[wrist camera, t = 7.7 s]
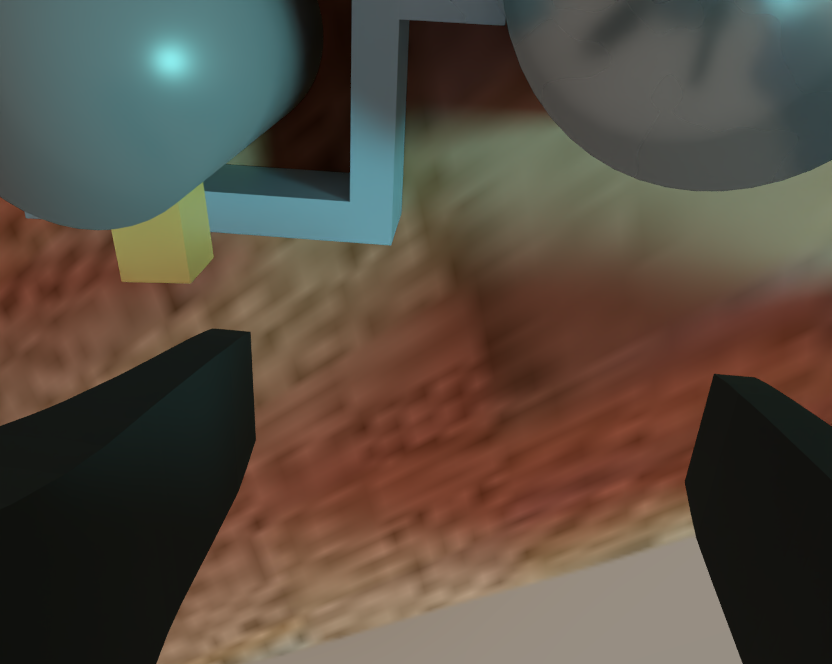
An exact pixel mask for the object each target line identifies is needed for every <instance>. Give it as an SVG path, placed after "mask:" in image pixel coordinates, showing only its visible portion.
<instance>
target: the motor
mask: <svg viewBox="0 0 832 664" xmlns="http://www.w3.org/2000/svg"><path fill="white" fill-rule="evenodd" d="M399 19H402V20H419V21H436V22H452V23H469V24H486V25H503V26H505V19H506V21H507V26H508V31H509V35H510V38H511V41H512V44H513V47H514V50H515V52H516V55H517V58H518V61H519V64H520V67H521V69H522V71H523V73H524V75H525V77H526V79H527V81H528V82H529V84H530V86H531V88H532V90H533V92H534V94H535V96H536V97H537V98H538V100H539V101H540V103H541V104H542V106H543V107H544V108H545V110H546V111H547V113H548V114H549V116H550V117H551V118H552V119H553V120H554V121H555V123H556V124H557V125H558V126H559V127H560V128H561V129H562V130H563V131H564V132H565V133H566V134H567V136H568V137H569V138H570V139H572V140H573V141H574V142H575V143H577V144H578V145H579V146H580V147H582V148H583V149H584V150H585V151H586V152H588V153H589V154H590V155H592V156H593V157H595V158H597V159H598V160H600V161H602V162H603V163H605V164H606V165H608V166H610V167H611V168H613V169H615V170H617V171H620V172H622V173H624V174H627V175H629V176H631V177H634V178H636V179H638V180H642V181H645V182H649V183H653V184H656V185H660V186H664V187H668V188H676V189H683V190H691V191H728V190H737V189H745V188H753V187H757V186H761V185H766V184H770V183H774V182H778V181H782V180H785V179H788V178H790V177H793V176H796V175H799V174H802V173H804V172H807V171H810V170H812V169H814V168H816V167H818V166H820V165H823V164H825V163H827V162H829V161H831V160H832V0H400V13H399Z"/></svg>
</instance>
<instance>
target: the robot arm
mask: <svg viewBox="0 0 832 664" xmlns="http://www.w3.org/2000/svg"><path fill="white" fill-rule="evenodd" d="M255 441H256V433H255V413H254V393H253V373H252V353H251V333H250V332H246V331H235V330H224V329H210V330H208V331H205V332H203V333H200V334H198V335H196V336H194V337H192V338H190V339H188V340H186V341H184V342H182V343H180V344H178V345H176V346H174V347H173V348H171V349H169V350H167V351H165V352H163V353H161V354H159V355H157V356H156V357H154V358H152V359H150V360H148V361H146V362H144V363H142V364H140V365H138V366H136V367H134V368H133V369H131V370H129V371H127V372H125V373H123V374H121V375H119V376H117V377H115V378H113V379H111V380H108V381H106V382H104V383H102V384H100V385H98V386H96V387H94V388H91V389H89V390H87V391H85V392H83V393H81V394H79V395H77V396H74V397H72V398H70V399H68V400H66V401H64V402H61V403H59V404H57V405H54V406H52V407H49V408H47V409H45V410H42V411H40V412H37V413H35V414H32V415H29V416H27V417H24V418H21V419H18V420H16V421H13V422H10V423H8V424H5V425H2V426H0V664H156V663H157V660H158V658H159V655H160V652H161V650H162V647H163V645H164V642H165V639H166V637H167V634H168V632H169V630H170V627H171V625H172V623H173V621H174V619H175V616H176V614H177V612H178V610H179V608H180V605H181V603H182V601H183V600H184V598H185V596H186V594H187V592H188V590H189V588H190V586H191V584H192V582H193V580H194V578H195V576H196V574H197V572H198V570H199V568H200V566H201V564H202V562H203V561H204V559H205V557H206V555H207V553H208V551H209V549H210V547H211V545H212V543H213V541H214V539H215V537H216V535H217V533H218V531H219V529H220V527H221V525H222V523H223V521H224V519H225V517H226V515H227V513H228V511H229V509H230V507H231V505H232V503H233V501H234V499H235V497H236V495H237V493H238V491H239V488H240V485H241V483H242V480H243V477H244V474H245V471H246V468H247V465H248V462H249V459H250V456H251V453H252V450H253V447H254V444H255ZM685 485H686V491H687V496H688V501H689V506H690V512H691V516H692V521H693V525H694V530H695V534H696V538H697V541H698V544H699V547H700V550H701V553H702V555H703V558H704V561H705V564H706V566H707V569H708V572H709V575H710V577H711V580H712V583H713V586H714V588H715V591H716V594H717V596H718V599H719V601H720V604H721V607H722V609H723V612H724V614H725V618H726V620H727V623H728V625H729V628H730V631H731V633H732V636H733V639H734V641H735V644H736V647H737V650H738V652H739V655H740V658H741V660H742V663H743V664H832V426H830V425H829V424H827V423H826V422H824V421H823V420H821V419H820V418H818V417H817V416H816V415H814V414H813V413H811V412H810V411H808V410H807V409H805V408H804V407H802V406H801V405H799V404H798V403H796V402H795V401H793V400H792V399H790V398H789V397H787V396H786V395H784V394H783V393H781V392H780V391H778V390H776V389H775V388H773V387H772V386H770V385H768V384H766V383H765V382H763V381H761V380H759V379H757V378H754V377H743V376H732V375H721V374H714V376H713V380H712V383H711V387H710V391H709V394H708V398H707V402H706V406H705V409H704V413H703V417H702V420H701V424H700V428H699V431H698V435H697V439H696V442H695V446H694V450H693V454H692V457H691V461H690V465H689V468H688V472H687V476H686V479H685Z"/></svg>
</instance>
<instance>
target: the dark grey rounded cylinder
mask: <svg viewBox="0 0 832 664" xmlns="http://www.w3.org/2000/svg"><path fill="white" fill-rule="evenodd" d="M322 49H323V25H322V17H321V12H320V8H319V4H318V1H317V0H0V197H1V198H3V199H4V200H6V201H7V202H9V203H11V204H12V205H14V206H16V207H18V208H19V209H21V210H23V211H25V212H27V213H29V214H32V215H34V216H36V217H38V218H40V219H43V220H46V221H49V222H52V223H55V224H58V225H63V226H68V227H72V228H77V229H89V230H110V229H111V231H112V236H113V241H114V246H115V251H116V256H117V261H118V266H119V271H120V276H121V280H122V282H147V283H192V282H193V280H194V279H195V278H196V277H197V276H198V275H199V274H200V273H201V272H202V270H203V269H204V268H205V267H206V266H207V265H208V264H209V263H210V261H211V260H212V259H213V258H214V256H213V249H212V241H211V234H210V227H209V220H208V213H207V206H206V199H205V192H204V185H203V182H204V181H205V180H206V179H207V178H209V177H210V176H211V175H212V174H214V173H215V172H216V171H217V170H218V169H220V168H221V167H222V166H223V165H225V164H226V163H227V162H228V161H230V160H231V159H232V158H233V157H235V156H236V155H237V154H238V153H240V152H241V151H242V150H243V149H245V148H246V147H247V146H248V145H249V144H251V143H252V142H253V141H254V140H256V139H257V138H258V137H259V136H261V135H262V134H263V133H264V132H266V131H267V130H268V129H269V128H271V127H272V126H273V125H274V124H276V123H277V122H278V121H279V120H281V119H282V118H283V117H284V116H285V115H287V114H288V113H289V112H290V111H292V110H293V109H294V108H295V107H296V106H297V105H298V104H299V103H300V102H301V100H302V99H303V98H304V97H305V95H306V94H307V93H308V91H309V89H310V87H311V86H312V84H313V82H314V80H315V77H316V75H317V72H318V69H319V65H320V61H321V57H322Z"/></svg>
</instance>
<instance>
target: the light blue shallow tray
mask: <svg viewBox="0 0 832 664" xmlns="http://www.w3.org/2000/svg"><path fill="white" fill-rule="evenodd" d="M399 13H400V0H352V44H351V148H350V173H343V172H328V171H314V170H300V169H286V168H271V167H257V166H243V165H229V164H225V165H223V166H222V167H221V168H220V169H218V170H217V171H216V172H215V173H214V174H212V175H211V176H210V177H209V178H207V179H206V180H205V181H204V182H203V185H204V192H205V199H206V206H207V213H208V220H209V227H210V232H219V233H233V234H246V235H260V236H273V237H286V238H300V239H313V240H326V241H340V242H353V243H367V244H380V245H391V244H392V241H393V238H394V235H395V232H396V228H397V225H398V222H399V219H400V216H401V210H402V186H403V162H404V138H405V114H406V90H407V66H408V42H409V20H402V19H399ZM25 216H26V218H32V219H40V218H38V217H36V216H34V215H32V214H29V213H27V212H25Z"/></svg>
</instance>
